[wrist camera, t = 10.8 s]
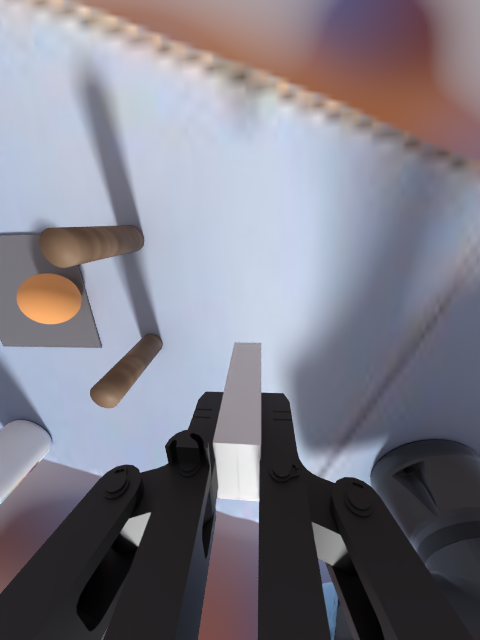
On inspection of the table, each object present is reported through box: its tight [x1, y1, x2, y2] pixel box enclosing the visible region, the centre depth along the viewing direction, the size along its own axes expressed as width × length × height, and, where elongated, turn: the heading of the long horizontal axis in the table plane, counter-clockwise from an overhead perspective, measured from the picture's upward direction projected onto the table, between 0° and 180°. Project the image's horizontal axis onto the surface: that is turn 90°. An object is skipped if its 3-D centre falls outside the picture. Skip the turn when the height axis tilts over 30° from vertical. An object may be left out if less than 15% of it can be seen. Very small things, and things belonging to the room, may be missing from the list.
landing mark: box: [0, 234, 102, 348], centre depth 29 cm, size 14×14×1 cm
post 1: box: [39, 225, 144, 268], centre depth 21 cm, size 3×3×10 cm
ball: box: [16, 273, 82, 324], centre depth 26 cm, size 6×6×6 cm
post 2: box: [90, 334, 163, 408], centre depth 25 cm, size 3×3×10 cm
